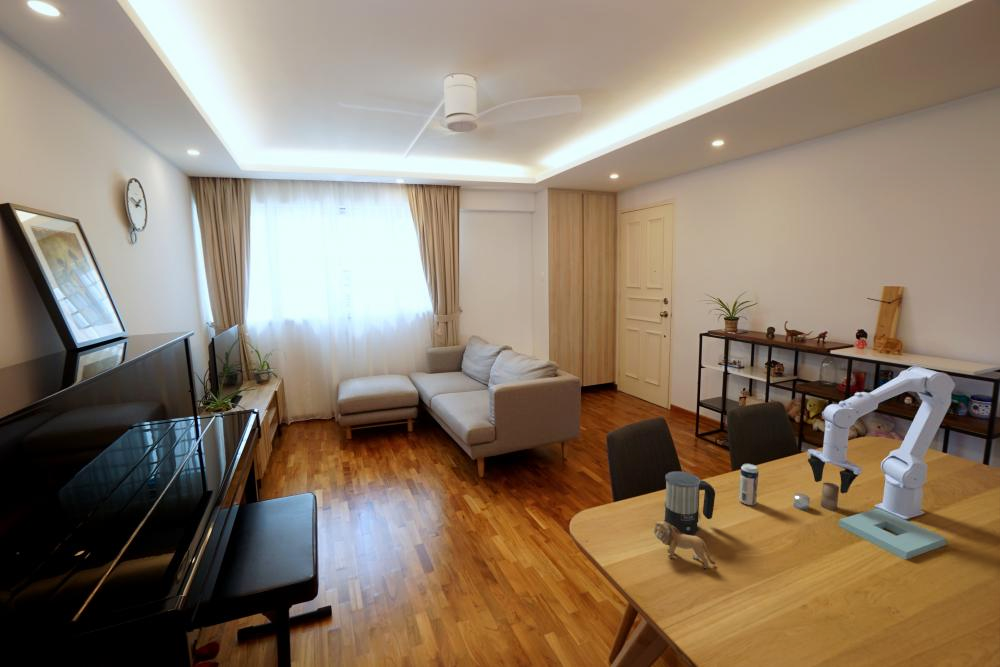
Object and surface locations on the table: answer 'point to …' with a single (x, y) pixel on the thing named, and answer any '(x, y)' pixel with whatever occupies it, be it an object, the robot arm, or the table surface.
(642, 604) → the table surface
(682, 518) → the milk frother
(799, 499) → the grey round piece
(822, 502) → the walnut pin
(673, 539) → the lion figurine
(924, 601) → the table surface
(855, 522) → the hole board
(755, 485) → the beer can
